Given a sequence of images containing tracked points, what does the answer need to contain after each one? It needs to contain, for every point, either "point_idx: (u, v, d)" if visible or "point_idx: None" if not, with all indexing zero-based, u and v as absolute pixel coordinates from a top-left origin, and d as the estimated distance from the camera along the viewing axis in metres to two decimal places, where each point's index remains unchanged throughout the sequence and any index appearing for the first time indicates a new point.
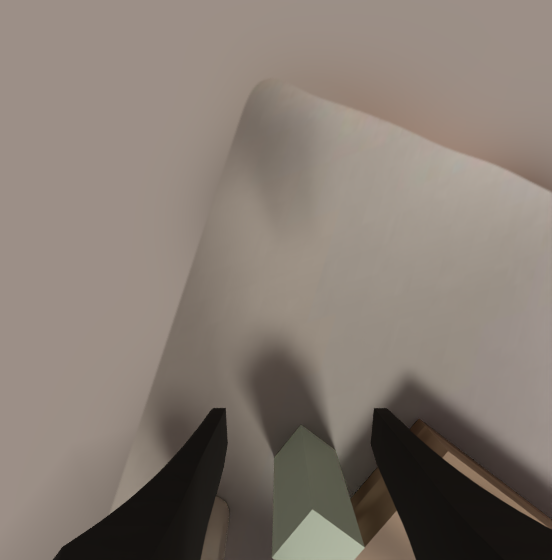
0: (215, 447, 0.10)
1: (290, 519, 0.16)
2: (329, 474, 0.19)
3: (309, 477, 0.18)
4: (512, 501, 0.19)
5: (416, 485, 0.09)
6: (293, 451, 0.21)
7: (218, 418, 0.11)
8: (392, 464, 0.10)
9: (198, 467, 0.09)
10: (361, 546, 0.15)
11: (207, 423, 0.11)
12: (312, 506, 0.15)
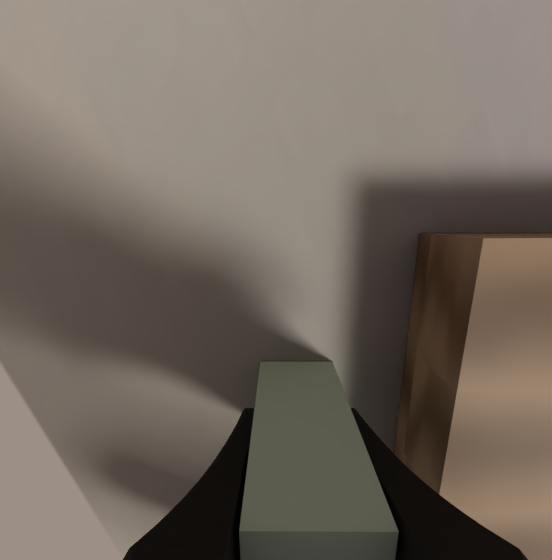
0: None
1: None
2: (310, 412, 0.10)
3: (253, 450, 0.09)
4: None
5: None
6: None
7: None
8: None
9: (243, 467, 0.09)
10: (390, 533, 0.06)
11: (243, 423, 0.11)
12: (242, 521, 0.07)
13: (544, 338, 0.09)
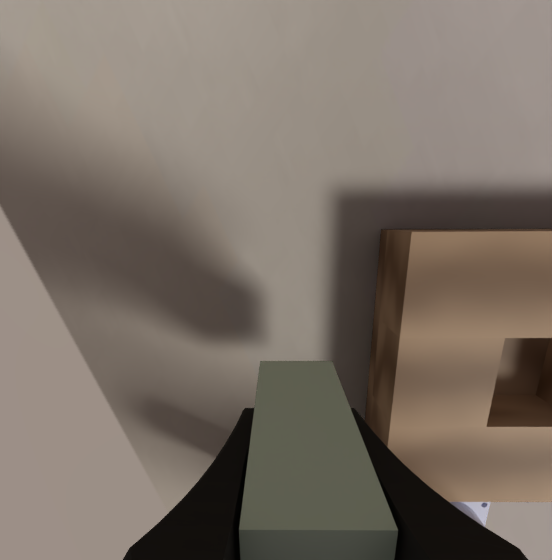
0: None
1: None
2: (310, 412, 0.10)
3: (253, 449, 0.09)
4: (533, 232, 0.13)
5: None
6: None
7: None
8: None
9: (243, 467, 0.09)
10: (390, 531, 0.06)
11: (243, 423, 0.11)
12: (241, 520, 0.07)
13: (456, 299, 0.14)
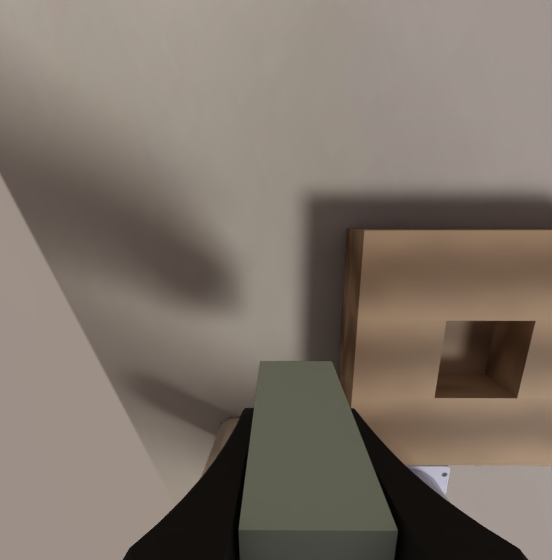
0: None
1: None
2: (310, 412, 0.10)
3: (252, 450, 0.09)
4: (465, 231, 0.16)
5: None
6: None
7: None
8: None
9: (243, 467, 0.09)
10: (389, 532, 0.06)
11: (243, 423, 0.11)
12: (241, 520, 0.07)
13: (404, 287, 0.17)
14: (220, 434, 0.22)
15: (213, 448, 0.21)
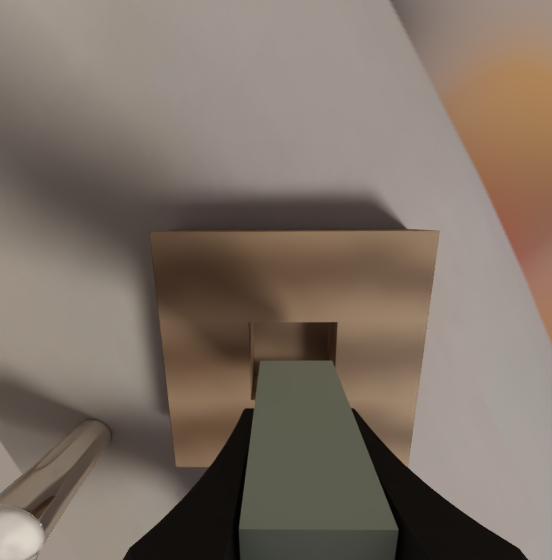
0: None
1: None
2: (310, 411, 0.10)
3: (253, 449, 0.09)
4: (251, 233, 0.16)
5: None
6: None
7: None
8: None
9: (243, 467, 0.09)
10: (390, 531, 0.06)
11: (243, 423, 0.11)
12: (241, 519, 0.07)
13: (200, 289, 0.17)
14: (66, 436, 0.22)
15: (49, 451, 0.21)
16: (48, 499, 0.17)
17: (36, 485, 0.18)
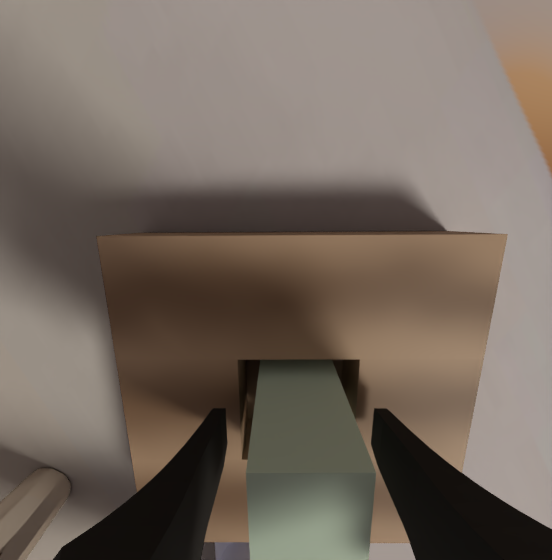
0: (215, 447, 0.10)
1: None
2: (306, 388, 0.12)
3: (256, 417, 0.10)
4: (239, 237, 0.11)
5: (416, 485, 0.09)
6: None
7: (218, 418, 0.11)
8: (392, 464, 0.10)
9: (198, 467, 0.09)
10: (369, 474, 0.08)
11: (207, 423, 0.11)
12: (248, 466, 0.08)
13: (170, 314, 0.12)
14: (9, 494, 0.17)
15: None
16: None
17: None
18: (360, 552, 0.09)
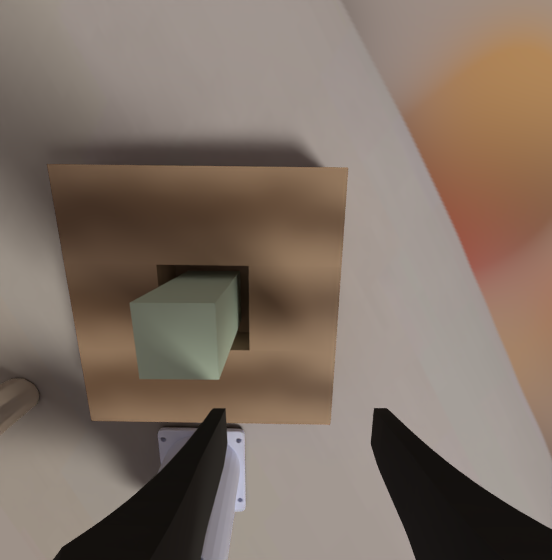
0: (215, 447, 0.10)
1: None
2: (203, 282, 0.16)
3: (155, 289, 0.14)
4: (152, 166, 0.15)
5: (416, 485, 0.09)
6: None
7: (218, 418, 0.11)
8: (392, 464, 0.10)
9: (198, 467, 0.09)
10: (211, 304, 0.12)
11: (207, 423, 0.11)
12: (132, 301, 0.12)
13: (103, 227, 0.16)
14: None
15: None
16: None
17: None
18: (213, 367, 0.13)
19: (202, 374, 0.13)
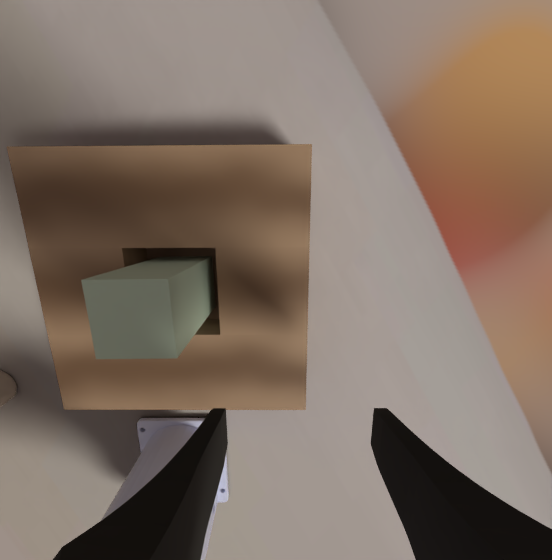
0: (215, 447, 0.10)
1: None
2: (168, 264, 0.16)
3: (115, 270, 0.14)
4: (113, 147, 0.15)
5: (416, 485, 0.09)
6: None
7: (218, 418, 0.11)
8: (392, 464, 0.10)
9: (198, 467, 0.09)
10: (164, 280, 0.12)
11: (207, 423, 0.11)
12: (85, 279, 0.12)
13: (67, 210, 0.16)
14: None
15: None
16: None
17: None
18: (170, 345, 0.12)
19: (160, 353, 0.12)
